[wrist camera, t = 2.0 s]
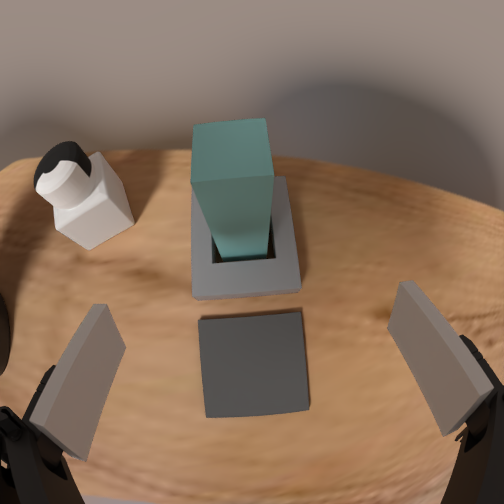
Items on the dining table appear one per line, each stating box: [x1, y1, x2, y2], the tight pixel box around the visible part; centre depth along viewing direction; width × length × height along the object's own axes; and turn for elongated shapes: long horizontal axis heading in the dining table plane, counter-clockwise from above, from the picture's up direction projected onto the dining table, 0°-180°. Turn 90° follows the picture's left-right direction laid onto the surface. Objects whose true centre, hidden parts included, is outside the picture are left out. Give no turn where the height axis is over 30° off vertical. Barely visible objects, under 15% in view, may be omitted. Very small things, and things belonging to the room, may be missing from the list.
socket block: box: [191, 176, 302, 301], centre depth 28 cm, size 10×12×2 cm
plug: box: [190, 118, 274, 262], centre depth 22 cm, size 4×4×15 cm
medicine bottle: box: [34, 141, 135, 250], centre depth 25 cm, size 7×7×12 cm
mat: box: [198, 312, 309, 418], centre depth 24 cm, size 10×10×1 cm
